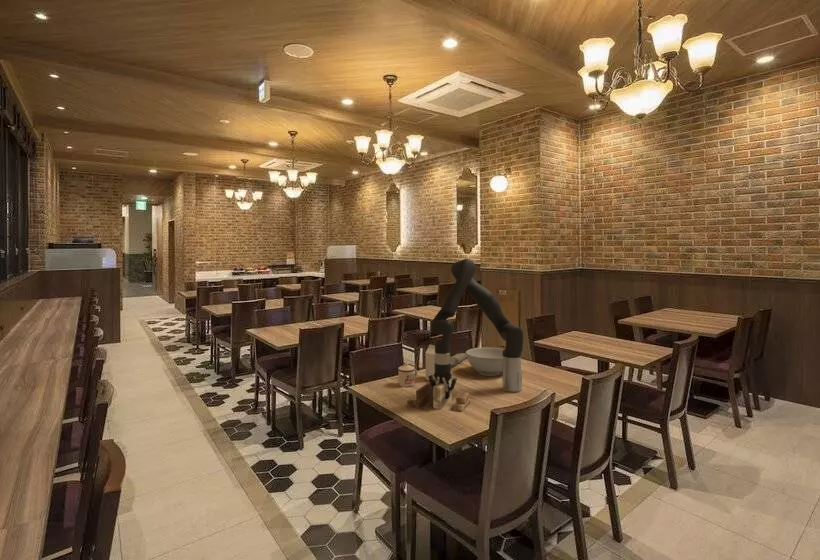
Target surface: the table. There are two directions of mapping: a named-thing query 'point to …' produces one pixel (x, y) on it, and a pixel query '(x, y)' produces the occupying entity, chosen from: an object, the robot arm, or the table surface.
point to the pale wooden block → (440, 395)
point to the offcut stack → (462, 401)
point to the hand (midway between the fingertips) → (442, 397)
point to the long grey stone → (457, 359)
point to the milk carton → (430, 361)
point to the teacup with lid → (407, 375)
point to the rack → (423, 397)
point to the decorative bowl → (486, 360)
